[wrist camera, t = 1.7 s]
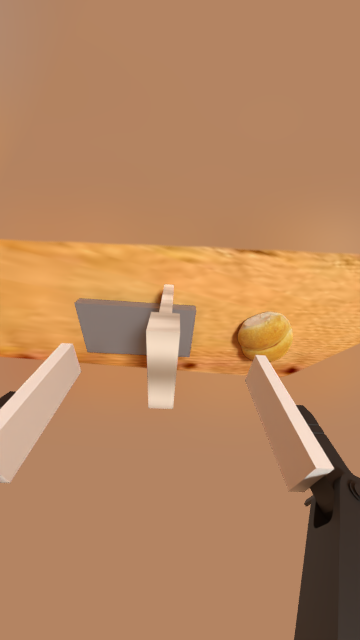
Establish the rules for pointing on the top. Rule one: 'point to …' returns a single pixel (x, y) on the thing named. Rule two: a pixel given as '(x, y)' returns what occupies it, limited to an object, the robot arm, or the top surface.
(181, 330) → the board
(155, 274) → the top surface
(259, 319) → the bread roll
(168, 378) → the gate
